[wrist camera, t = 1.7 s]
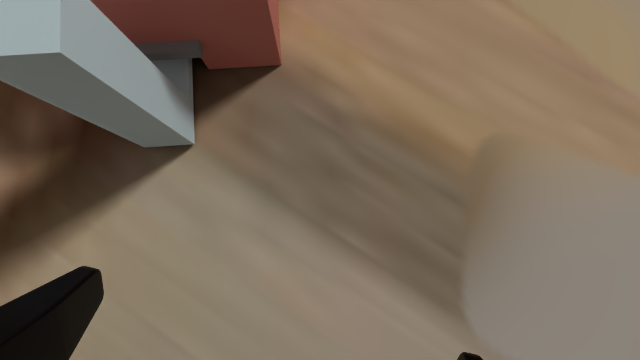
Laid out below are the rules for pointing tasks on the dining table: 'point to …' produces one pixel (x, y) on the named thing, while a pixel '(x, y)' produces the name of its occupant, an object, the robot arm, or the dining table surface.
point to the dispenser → (200, 30)
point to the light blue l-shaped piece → (95, 71)
